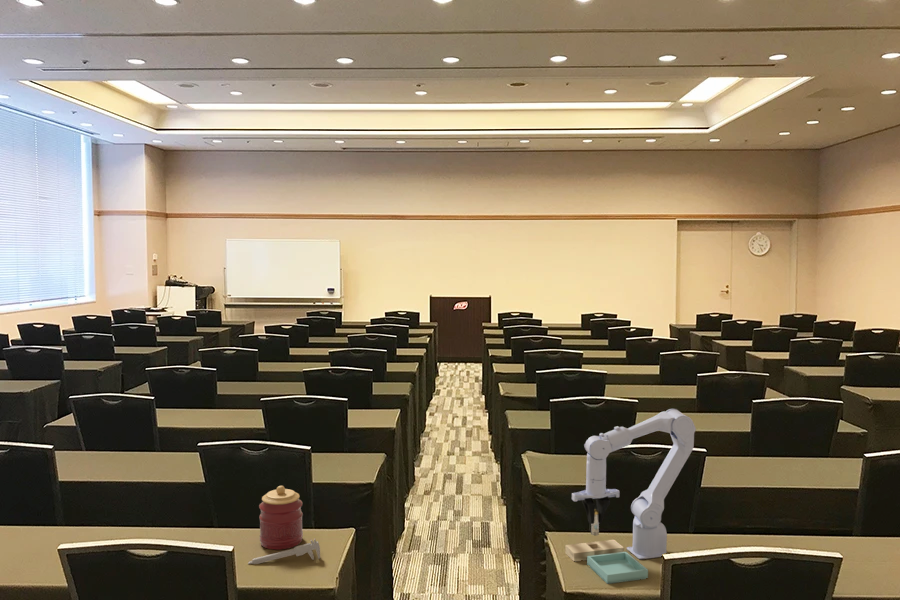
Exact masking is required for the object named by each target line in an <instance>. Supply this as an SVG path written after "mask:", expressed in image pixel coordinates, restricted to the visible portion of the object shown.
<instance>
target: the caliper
mask: <svg viewBox="0 0 900 600" xmlns="http://www.w3.org/2000/svg"><path fill="white" fill-rule="evenodd" d="M313 550H315V552H316V555H317V559H321V546H320V543H319V541H318V540H316V538H314V539H310V542H308V543H305V544H301V545H300V544H299V545H297V546H294V547H293V548H291V549H290V548H289V549H285V550H282V551H279V552H274V553H271V554H267V555H264V556H263V555H262V556H258V557H255V558H252V560H250V561H248V563H247V565H251V564H252V565H259V564H262V563H266V562H270V561H273V560H274V561H275V560H278V559H282V558H286V557H291V556H294V555H295V556H296V557H299V556H304V555H305V554H306V553H307V554H308V555H309V557H310V558H311V560H315V557H314V552H313Z"/></svg>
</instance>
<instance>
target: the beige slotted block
mask: <svg viewBox="0 0 900 600" xmlns="http://www.w3.org/2000/svg"><path fill="white" fill-rule="evenodd" d="M564 548H565V553H564V554H565V555H567V556H568V558H569V559H571V560H572V561H573V562H574V561H575V562H581V560H583V561H587V556H593V555H602V554H610V553H619V552H625V550H624V549H625V548H624V546H623V545H621V544H620V543H619V542H617V540H615V539H606V540H600V541H599V540H597V541H591V542H590V541H589V542H581V543H573V544H565V547H564Z"/></svg>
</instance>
